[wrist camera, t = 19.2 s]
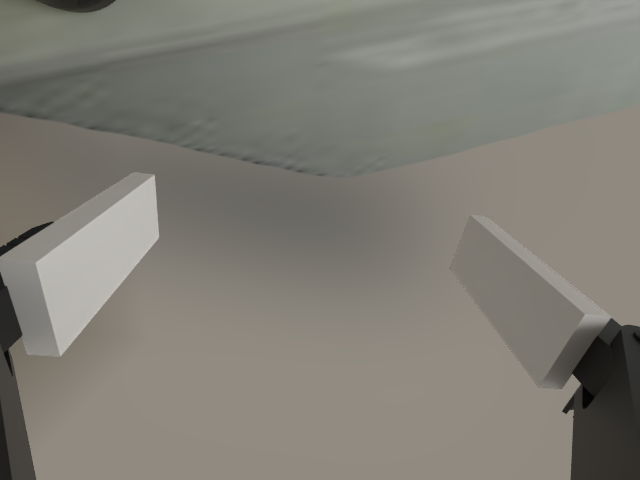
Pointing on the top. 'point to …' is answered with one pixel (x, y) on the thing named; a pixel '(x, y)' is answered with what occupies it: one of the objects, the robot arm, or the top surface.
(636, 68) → the top surface
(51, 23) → the top surface
